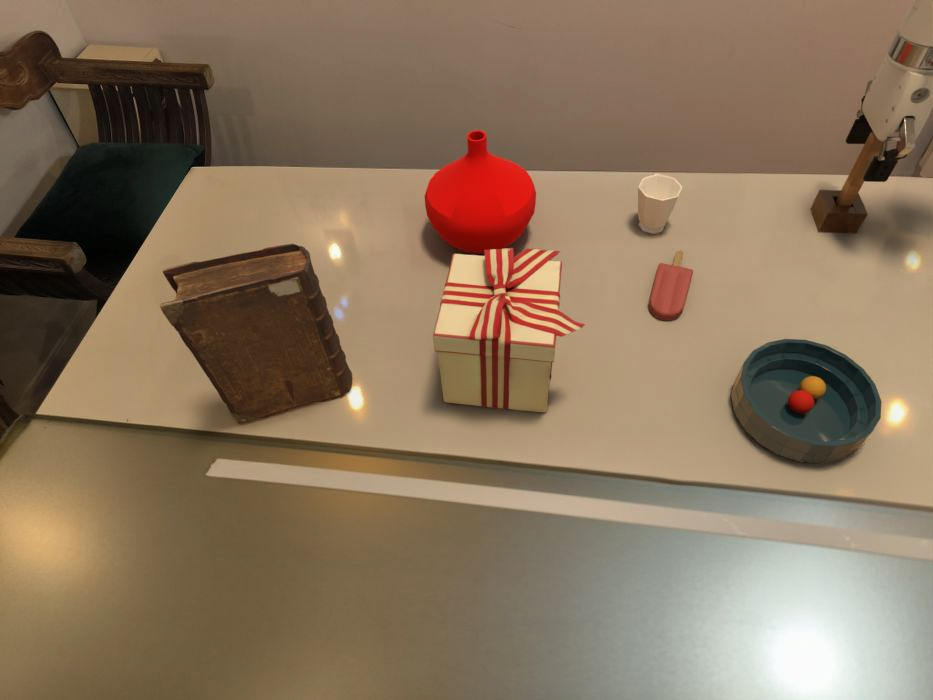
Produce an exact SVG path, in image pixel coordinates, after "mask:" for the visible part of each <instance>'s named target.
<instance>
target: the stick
mask: <svg viewBox="0 0 933 700" xmlns="http://www.w3.org/2000/svg"><path fill="white" fill-rule="evenodd" d="M879 147H880V140H879V139H878V138H877V137H876V136H875V134H874V132H871V133H870V135H869V137H868V139H867V141H866V143H865V144H863V146H862V149H861V151H860V153H859V155H858V156H857V158H856V160H855V163H854V165H853V167H852V168H851V170H850V172H849V174H848V176H847V178H846V180H845V182H844V184H843V186H842V188H841V189H840V190H841V192H840V194H839V196H838V198H837V200H836V201H835V204H836V206H837V207H851V205H852V203H853V202H854V200H855V198H856V196H857V194H858V193H859V192H860V190H861V189H862V187H863V185H864V183H865V181H864V179H863V177H864V175H865V173H866V171H867V169H868V167H869V166H870V164H871V162H872V160H873V158H874V156H878V153H879Z"/></svg>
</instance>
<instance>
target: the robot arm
mask: <svg viewBox="0 0 933 700" xmlns="http://www.w3.org/2000/svg"><path fill="white" fill-rule="evenodd" d="M885 54H886V56H885V58H884V60H883V62H882V63H881V65H880V67H879V68H878V70H877V73H876V74H875V76H874V78H873V79H869V80H868V81H867V84H866V87H865V91H864V95H863V97H862V98H861V101H860V102H861V105H860V109H858V110H857V112H856V118H855V119H854V121H853V124H852V126H851V128H850V130H849V132H848V134H847V136H846V138H845V143H846V144H847V145H865V143H866V141H867V139H868V137H869V135H870V133H871V132H874V134H875V136H876V137H877V138H878V139H879V140H880V147H879V153H878V156H874V158H873V160H872V162H871V164H870V166H869V167H868V169H867V171H866V173H865V175H864V177H863V179H864V183H865V182H868V183H885V182H887V181H888V180H889V178H890V176H891V174H892V172H893V171H894V169H895V167H896V166H897V164H898V162H901V161H902V160H903V159H905V158H906V157H907V156H908V155H909V154H910V153H911V152H912V151H913V150H915V148H916V144H917V143H916V139H917V138H918V136H919V135H920V133H921V131H922V129H923V128H924V126H925V124H926V122H927V120H928V118H929V116H930V114H931V112H932V110H933V0H911V2H910V4H909V5H908V8H907V10H906V13H905V15H904V16H903V18H902V21H901V23H900V25H899V27H898V29H897V31H896V32H895V35H894V38H893V39H892V42H891V44H890V46H889V48H888V50H887V52H886V53H885ZM893 134H898V136H892V135H893ZM889 143H896V145H895V146H896V147H895V148H892V149H889V150H888V147H889Z"/></svg>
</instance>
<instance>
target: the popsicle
mask: <svg viewBox="0 0 933 700" xmlns="http://www.w3.org/2000/svg"><path fill="white" fill-rule="evenodd" d="M683 256H684V252H683V251H681V250H676V252H675V255H674V258H673V262H672V264H670V263H669V264H668V263H663V262H659V263H658V266H657V270H656V273H655V277H654V281H653V283H652V289H651V293H650V297H649V302H648V308H649V311H650V313H651V314H652V316H654V317H655V318H657V319H658V320H661V321H673V320H675V319H678V318H679V317H680V316H681V315H682V313H683V311H684V308H685V306H686V302H687V298H688V294H689V290H690V287H691V283H692V280H693V273H694V269H692V268H688V267H682V266H681V264H682V259H683Z"/></svg>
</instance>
